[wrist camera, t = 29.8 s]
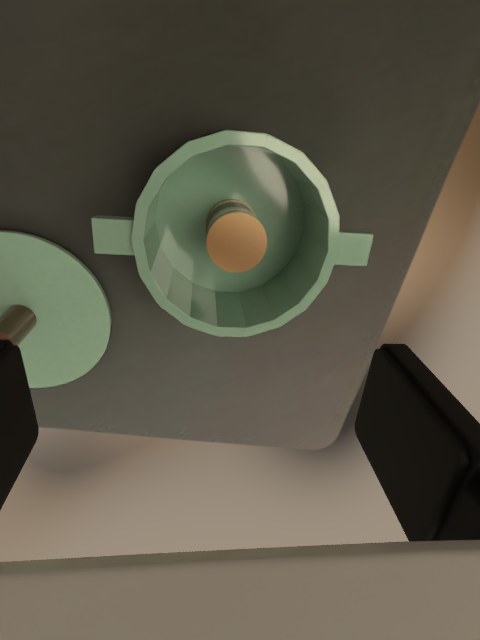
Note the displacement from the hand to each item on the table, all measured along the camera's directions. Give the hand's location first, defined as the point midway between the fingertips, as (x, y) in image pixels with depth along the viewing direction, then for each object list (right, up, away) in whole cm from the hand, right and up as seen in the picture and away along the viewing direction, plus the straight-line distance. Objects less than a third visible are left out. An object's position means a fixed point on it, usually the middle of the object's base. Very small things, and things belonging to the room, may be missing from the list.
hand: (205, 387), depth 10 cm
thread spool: (0, +10, +22) cm, 24 cm away
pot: (0, +10, +22) cm, 24 cm away
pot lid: (-18, +2, +23) cm, 30 cm away
